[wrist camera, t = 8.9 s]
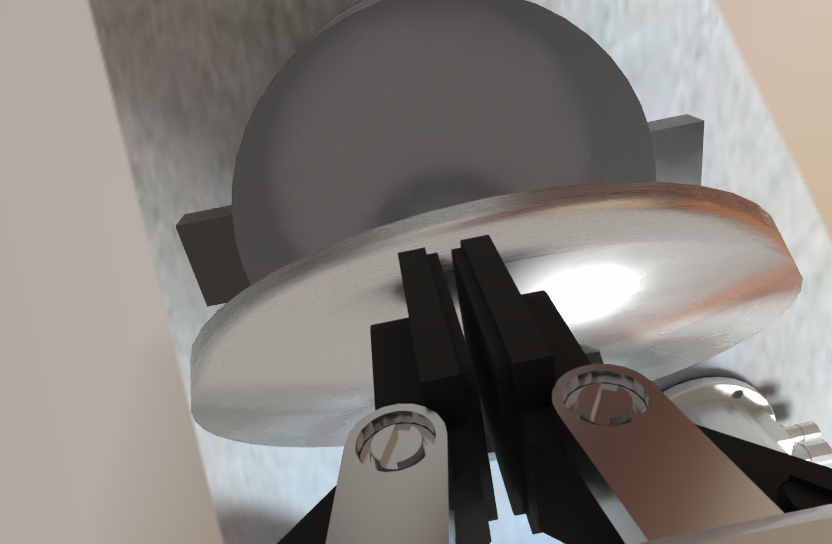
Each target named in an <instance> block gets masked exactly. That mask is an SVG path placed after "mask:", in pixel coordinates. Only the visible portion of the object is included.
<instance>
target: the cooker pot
mask: <svg viewBox="0 0 832 544" xmlns="http://www.w3.org/2000/svg"><path fill="white" fill-rule="evenodd" d="M703 134H704V121H703V120H701V119H698V118H696V117H693V116H690V115H688V114H686V115H681V116H676V117H671V118H666V119H661V120H656V121H651V122H647V121H646V118H645V115H644V112H643V109H642V106H641V104H640V102H639V100H638V98H637V96H636V94H635V92H634V91H633V89H632V87H631V85H630V83H629V81H628V79H627V78H626V77H625V75H624V74H623V73H622V71H621V70H620V69H619V67H618V66H617V65H616V63H615V62H614V61H613V59H612V58H611V57H610V56H609V55H608V54H607V53H606V52H605V51H604V50H603V49H602V48H601V47H600V46H599V45H598V44H597V43H596V42H595V41H594V40H593V39H592V38H591V37H590V36H589V35H587V34H586V33H585V32H583V31H582V30H581V29H579V28H578V27H576V26H575V25H574V24H572V23H571V22H569V21H568V20H567V19H565V18H563V17H561V16H559V15H557V14H555V13H553V12H551V11H550V10H548V9H546V8H544V7H542V6H540V5H538V4H535V3H532V2H529V1H525V0H364V1H362V2H360V3H357V4H355V5H353V6H351V7H350V8H348V9H346V10H345V11H343V12H342V13H340V14H338V15H337V16H335V17H334V18H333V19H332V20H330V21H329V22H328V23H327V24H326V25H324V26H323V27H322V28H321V29H320V30H318V31H317V32H316V34H315V35H314V36H313V37H312V38H311V39H310V40H309V41H308V42H307V43H306V44H305V45H304V46H303V47H302V48H301V49H300V50H299V51H298V52H297V53H296V54H295V55H294V56H293V58H292V59H291V60H290V61H289V62H288V63H287V64H286V65H285V67H284V68H283V69H282V70H281V71H280V72H279V73H278V74H277V75H276V77H275V78H274V80H273V81H272V83H271V84H270V86H269V87H268V89H267V90H266V92H265V93H264V95H263V96H262V98H261V99H260V101H259V102H258V104H257V106H256V108H255V110H254V113H253V115H252V117H251V119H250V121H249V123H248V125H247V127H246V129H245V132H244V136H243V139H242V142H241V145H240V149H239V152H238V155H237V159H236V165H235V171H234V178H233V184H232V205H230V206H225V207H220V208H215V209H210V210H205V211H200V212H195V213H190V214H185V215H184V216H183V217H182V218H181V220H180V221H179V222H178V224H177V225H176V229H177V231H178V234H179V236H180V239H181V241H182V244H183V246H184V249H185V251H186V254H187V256H188V259H189V262H190V264H191V267H192V269H193V272H194V274H195V277H196V279H197V282H198V284H199V287H200V289H201V292H202V294H203V297H204V299H205V302H206V304H207V306H212V305H217V304H222V303H227V302H229V301H230V300H232V299H233V298H234V297H235V296H237V295H238V294H239V293H240V292H242V291H243V290H245V289H246V288H248V287H250V286H251V285H253V284H254V283H256V282H258V281H259V280H261V279H263V278H264V277H266V276H268V275H269V274H271V273H273V272H274V271H276V270H278V269H280V268H282V267H284V266H286V265H288V264H290V263H292V262H294V261H296V260H298V259H301V258H303V257H305V256H307V255H309V254H311V253H313V252H315V251H317V250H319V249H321V248H324V247H327V246H329V245H332V244H334V243H337V242H340V241H342V240H345V239H347V238H350V237H353V236H355V235H358V234H360V233H363V232H366V231H368V230H371V229H374V228H377V227H380V226H383V225H387V224H390V223H393V222H396V221H400V220H403V219H406V218H410V217H413V216H416V215H419V214H423V213H426V212H429V211H433V210H437V209H442V208H446V207H450V206H455V205H459V204H463V203H467V202H472V201H476V200H480V199H484V198H489V197H494V196H500V195H506V194H512V193H518V192H524V191H531V190H537V189H543V188H549V187H558V186H569V185H580V184H591V183H602V182H668V183H679V184H690V185H700V186H701V174H702V154H703Z"/></svg>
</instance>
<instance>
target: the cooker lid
mask: <svg viewBox="0 0 832 544" xmlns="http://www.w3.org/2000/svg"><path fill="white" fill-rule="evenodd" d="M483 235H489V236H490V238H491V239H492V241H493V243H494V245H495V247H496V249H497V251H498V253H499V254H500V256H501V258H502V260H503V262H504V264H505V266H506V268H507V269H508V271H509V273H510V275H511V277H512V279H513V281H514V283H515V284H516V286H517V288H518V290H519V292H520V294H526V293H531V292H536V291H541V290H544V291H546V292H547V293H548V295H549V296H550V298H551V300H552V301H553V303H554V304H555V306H556V308H557V309H558V311H559V313H560V314H561V316H562V317H563V319H564V321H565V322H566V324H567V325H568V327H569V329H570V330H571V332H572V333H573V335H574V337H575V338H576V340H577V342H578V343H579V345H580V346H581V348H582V350H583V351H584V353H585V354H586V356H587V358H588V359H589V361H590V363H591V364H613V365H618V366H623V367H627V368H629V369H632V370H634V371H637V372H639V373H641V374H642V375H644V376H645V377H646V378H648V379H649V380H650V381H654V380H657V379H660V378H662V377H665V376H667V375H670V374H672V373H675V372H678V371H680V370H683V369H685V368H687V367H690V366H692V365H694V364H697V363H699V362H701V361H704V360H706V359H708V358H710V357H712V356H714V355H716V354H719V353H721V352H723V351H725V350H727V349H729V348H731V347H732V346H734V345H736V344H738V343H740V342H742V341H744V340H745V339H747V338H749V337H750V336H752V335H754V334H755V333H757V332H758V331H760V330H762V329H763V328H765V327H766V326H768V325H769V324H770V323H771V322H773V321H774V320H775V319H777V318H778V317H779V316H781V315H782V314H783V313H784V312H785V311H786V310H787V309H788V308H789V307H790V306H791V305H792V304H793V303H794V301H795V299H796V298H797V296H798V294H799V293H800V291H801V286H802V279H803V278H802V276H801V274H800V272H799V270H798V268H797V266H796V264H795V262H794V260H793V258H792V256H791V254H790V252H789V250H788V248H787V246H786V244H785V242H784V240H783V238H782V236H781V234H780V232H779V231H778V229H777V227H776V225H775V223H774V221H773V219H772V217H771V215H769V214H768V213H767V212H766V211H765V210H764V209H762V208H761V207H760V206H759V205H758V204H756V203H754V202H752V201H750V200H748V199H745V198H743V197H741V196H739V195H736V194H734V193H731V192H726V191H722V190H718V189H713V188H709V187H705V186H700V185H690V184H679V183H668V182H602V183H591V184H580V185H569V186H558V187H549V188H543V189H537V190H531V191H524V192H518V193H512V194H506V195H500V196H494V197H489V198H484V199H480V200H476V201H472V202H467V203H463V204H459V205H455V206H450V207H446V208H442V209H437V210H433V211H429V212H426V213H423V214H419V215H416V216H413V217H410V218H406V219H403V220H400V221H396V222H393V223H390V224H387V225H383V226H380V227H377V228H374V229H371V230H368V231H366V232H363V233H360V234H358V235H355V236H353V237H350V238H347V239H345V240H342V241H340V242H337V243H334V244H332V245H329V246H327V247H324V248H321V249H319V250H317V251H315V252H313V253H311V254H309V255H307V256H305V257H303V258H301V259H298V260H296V261H294V262H292V263H290V264H288V265H286V266H284V267H282V268H280V269H278V270H276V271H274V272H273V273H271V274H269V275H268V276H266V277H264V278H263V279H261V280H259V281H258V282H256V283H254V284H253V285H251V286H250V287H248V288H246V289H245V290H243V291H242V292H240V293H239V294H238V295H237V296H235V297H234V298H233V299H232V300H230V301H229V302H228V303H227V304H225V305H224V306H223V307H221V308H220V309H219V310H218V311H217V312H216V313H215V314H214V315H213V316H212V317H211V318H210V320H209V321H208V322H207V323H206V324H205V325H204V326H203V327H202V329H201V330H200V332H199V334H198V336H197V338H196V340H195V342H194V344H193V345H192V352H191V360H190V366H191V412H192V415H193V417H194V420H195V422H196V423H198V424H199V425H200V426H201V427H202V428H203V429H204V430H206V431H208V432H210V433H212V434H214V435H216V436H219V437H223V438H226V439H229V440H233V441H238V442H243V443H249V444H257V445H266V446H281V447H334V446H344V445H345V442H346V440H347V437H348V434H349V432H350V431H351V430H352V429H353V427H354V426H355V425H356V424H357V422H359V421H360V420H361V419H363V418H364V417H365V416H367V415H368V414H369V413H371V412H374V411H375V401H374V384H373V368H372V352H371V335H370V326H371V325H373V324H378V323H383V322H388V321H393V320H398V319H403V318H408V317H409V316H408V310H407V304H406V299H405V293H404V287H403V282H402V276H401V270H400V264H399V259H398V253H399V252H404V251H409V250H414V249H419V248H424V247H425V249H426V253H427V254H432V253H436V252H437V253H438V256H439V259H440V262H441V265H442V269H443V272H444V275H445V278H446V281H447V284H448V287H449V291H450V294H451V297H452V300H453V303H454V306H455V309H456V313H457V316H458V319H459V322H460V325H461V328H462V331H463V324H462V318H461V312H460V305H459V299H458V293H457V287H456V280H455V274H454V268H453V261H452V255H451V249H456V248H461V246H460V240H463V239H468V238H473V237H478V236H483ZM463 335H464V331H463ZM464 338H465V337H464ZM481 411H482V409H481ZM482 417H483V424H484V430H485V437H486V443H487V450H488V456H489V461H493V460H497V458H496V455H495V452H494V448H493V445H492V442H491V439H490V435H489V432H488V429H487V425H486V422H485V419H484V416H483V412H482Z"/></svg>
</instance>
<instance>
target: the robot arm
mask: <svg viewBox="0 0 832 544" xmlns="http://www.w3.org/2000/svg"><path fill="white" fill-rule="evenodd" d="M460 246H461V248H456V249H451V255H452V261H453V268H454V274H455V280H456V287H457V293H458V299H459V305H460V312H461V318H462V324H463V331H464V335H463V331H462V328H461V325H460V322H459V319H458V316H457V313H456V309H455V306H454V303H453V300H452V297H451V294H450V291H449V287H448V284H447V281H446V278H445V275H444V272H443V269H442V265H441V262H440V259H439V256H438V253H437V252H436V253H432V254H427V253H426V249H425V247H424V248H419V249H414V250H409V251H404V252H399V253H398V259H399V264H400V270H401V276H402V282H403V287H404V293H405V299H406V304H407V310H408V316H409V317H408V318H403V319H398V320H393V321H388V322H383V323H378V324H373V325H371V326H370V335H371V352H372V368H373V384H374V401H375V411H374V412H371V413H369V414H368V415H367V416H365V417H364V418H363V419H361V420H360V421H359V422H357V424H356V425H355V426H354V427H353V429H352V430H351V431H350V432H349V434H348V437H347V440H346V442H345V445H344V450H343V455H342V460H341V466H340V471H339V476H338V481H337V485H336V486H335V487H334V488H333V489H332V490H331V491H330V492H329V493H328V494H327V495H326V496H325V497H324V498H323V499H322V500H321V501H320V502H319V503H318V504H317V505H316V506H315V507H314V508H313V509H312V510H311V511H310V512H309V513H308V514H307V515H306V516H305V517H304V518H303V519H302V520H301V521H300V522H299V523H298V524H297V525H296V526H295V527H294V528H293V529H292V530H291V531H289V532H288V533H287V534H286V535H285V536H284V537H283V538H282V539H281V540H280V541H279V542H278V543H277V544H490V542H491V536H490V529H489V523H488V521H492V520H497V519H498V515H497V509H496V502H495V496H494V489H493V483H492V476H491V469H490V463H489V456H488V450H487V443H486V437H485V430H484V424H483V417H482V412H483V416H484V419H485V422H486V425H487V429H488V432H489V435H490V439H491V442H492V445H493V448H494V452H495V455H496V458H497V462H498V465H499V468H500V471H501V475H502V478H503V481H504V485H505V488H506V491H507V494H508V498H509V501H510V504H511V508H512V511H513V513H514V515H515V516H516V515H521V514H526V515H527V518H528V522H529V525H530V528H531V531H532V534H537V533H542V532H543V533H545V534H547V535H549V536H551V537H553V538H555V539H557V540H559V541H561V542H563V544H832V469H831V468H829V467H826V466H823V465H825V464H830V463H832V449H831V447H830V446H829V445H828V443H827V442H826V441H824V440H823V439H819V438H820V437H821V434H820V430H819V428H818V426H817V425H816V424H815V423H814V422H806V423H801V424H796V425H794V426H790V427H785V426H783V425H781V424H780V425H779V424H778V423H777V422H776V419H775V415H774V412H773V409H772V407H771V405H770V404H769V402H768V401H767V400H766V398H765V397H764V396H763V395H762V394H761V393H760V392H759V391H758V390H756V389H755V388H754V387H752V386H751V385H749V384H747V383H746V382H743V381H740V380H737V379H734V378H726V377H704V378H699V379H694V380H690V381H687V382H684V383H681V384H678V385H676V386H673V387H671V388H669V389H668V390H666V391H664V392H662V391H661V390H660V389H659V388H658V387H657V386H656V385H655V384H654V383H653V382H652V381H650V380H649V379H648V378H646V377H645V376H644V375H642V374H641V373H639V372H637V371H634V370H632V369H629V368H627V367H623V366H618V365H613V364H591V363H590V361H589V359H588V358H587V356H586V354H585V353H584V351H583V350H582V348H581V346H580V345H579V343H578V342H577V340H576V338H575V337H574V335H573V333H572V332H571V330H570V329H569V327H568V325H567V324H566V322H565V321H564V319H563V317H562V316H561V314H560V313H559V311H558V309H557V308H556V306H555V304H554V303H553V301H552V300H551V298H550V296H549V295H548V293H547V292H546V291H544V290H541V291H536V292H531V293H526V294H520V292H519V290H518V288H517V286H516V284H515V283H514V281H513V279H512V277H511V275H510V273H509V271H508V269H507V268H506V266H505V264H504V262H503V260H502V258H501V256H500V254H499V253H498V251H497V249H496V247H495V245H494V243H493V241H492V239H491V238H490V236H489V235H483V236H478V237H473V238H468V239H463V240H460ZM464 337H465V338H464ZM481 409H482V411H481ZM806 441H807V442H806ZM797 442H802V443H798V444H797V445H794V446H793V443H797Z"/></svg>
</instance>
